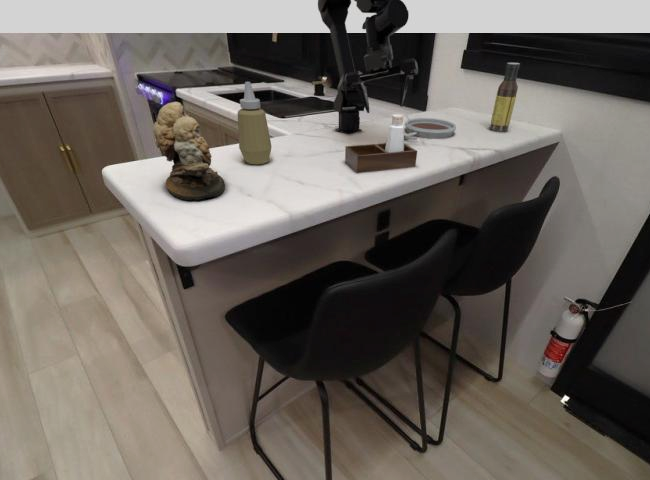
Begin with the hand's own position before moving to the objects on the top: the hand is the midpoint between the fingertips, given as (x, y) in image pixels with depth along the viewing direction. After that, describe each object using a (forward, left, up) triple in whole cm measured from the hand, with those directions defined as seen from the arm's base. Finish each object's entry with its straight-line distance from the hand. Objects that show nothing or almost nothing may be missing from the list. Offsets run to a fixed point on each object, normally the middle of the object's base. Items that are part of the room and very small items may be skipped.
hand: (384, 109), depth 102 cm
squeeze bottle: (-15, -33, -11) cm, 37 cm away
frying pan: (-3, +22, -11) cm, 25 cm away
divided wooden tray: (+8, -10, -11) cm, 16 cm away
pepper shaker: (+9, -6, -10) cm, 15 cm away
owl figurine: (-9, -53, -11) cm, 54 cm away
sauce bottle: (+11, +49, -11) cm, 52 cm away
